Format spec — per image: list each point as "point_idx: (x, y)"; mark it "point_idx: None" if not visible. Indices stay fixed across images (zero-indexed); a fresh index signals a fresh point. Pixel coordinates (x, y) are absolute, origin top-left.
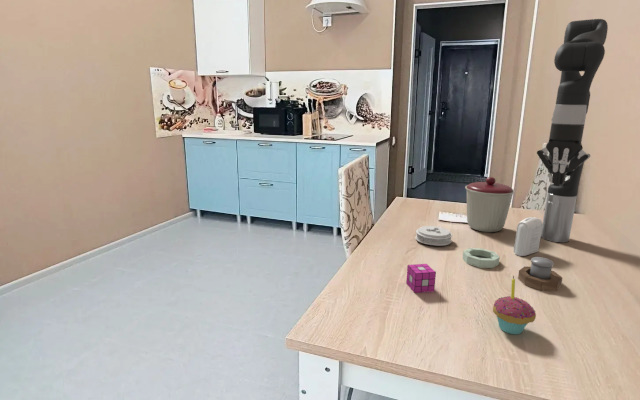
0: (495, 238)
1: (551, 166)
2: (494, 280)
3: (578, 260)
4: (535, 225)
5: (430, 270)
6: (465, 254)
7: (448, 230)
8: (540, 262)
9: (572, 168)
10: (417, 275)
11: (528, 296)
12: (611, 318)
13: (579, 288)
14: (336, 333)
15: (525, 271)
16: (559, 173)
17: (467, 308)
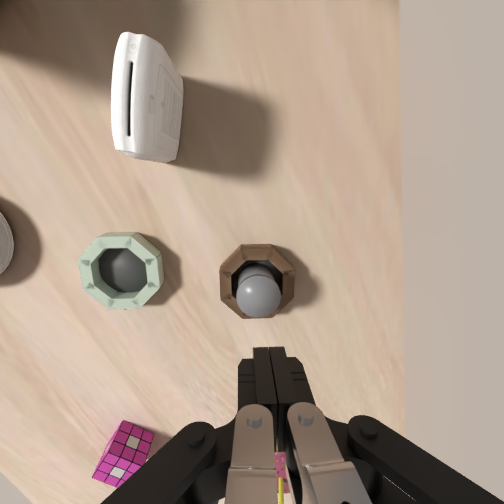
0: (45, 58)
1: (217, 490)
2: (196, 331)
3: (281, 66)
4: (160, 111)
5: (133, 468)
6: (98, 299)
7: None
8: (259, 309)
9: (381, 498)
10: None
11: (263, 345)
12: (376, 322)
13: (319, 248)
14: None
15: (231, 294)
16: (283, 449)
17: None
